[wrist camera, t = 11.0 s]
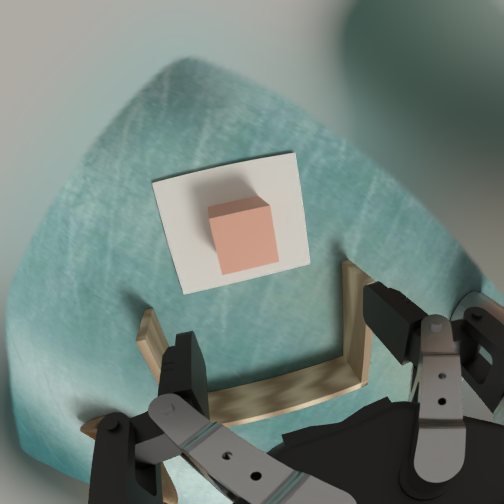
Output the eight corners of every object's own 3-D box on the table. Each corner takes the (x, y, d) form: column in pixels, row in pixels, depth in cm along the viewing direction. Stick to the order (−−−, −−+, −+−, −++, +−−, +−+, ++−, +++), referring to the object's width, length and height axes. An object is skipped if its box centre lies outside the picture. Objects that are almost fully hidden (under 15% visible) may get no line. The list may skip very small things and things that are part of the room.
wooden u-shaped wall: (348, 259, 32) (375, 281, 27) (349, 358, 38) (367, 384, 33) (144, 309, 30) (135, 341, 25) (187, 400, 36) (188, 433, 30)
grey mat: (293, 152, 27) (295, 152, 27) (308, 262, 32) (310, 263, 31) (153, 182, 26) (152, 183, 25) (184, 292, 30) (183, 294, 30)
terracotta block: (258, 195, 28) (270, 205, 23) (266, 243, 29) (279, 261, 25) (207, 206, 27) (209, 218, 23) (218, 254, 29) (222, 275, 24)
